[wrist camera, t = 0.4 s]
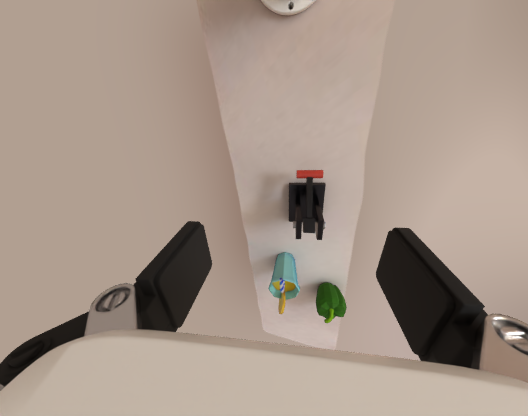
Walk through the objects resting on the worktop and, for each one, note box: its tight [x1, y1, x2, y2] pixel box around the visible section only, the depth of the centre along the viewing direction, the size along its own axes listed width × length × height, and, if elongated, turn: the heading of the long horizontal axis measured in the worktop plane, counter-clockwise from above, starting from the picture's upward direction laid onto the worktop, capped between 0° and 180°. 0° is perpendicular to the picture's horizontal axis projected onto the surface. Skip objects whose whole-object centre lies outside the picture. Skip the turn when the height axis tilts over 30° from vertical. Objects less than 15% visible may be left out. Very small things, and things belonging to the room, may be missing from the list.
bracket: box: [289, 183, 325, 240], centre depth 41 cm, size 10×8×12 cm
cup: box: [269, 252, 300, 314], centre depth 49 cm, size 14×8×15 cm, turn 6°
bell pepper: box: [316, 282, 346, 323], centre depth 55 cm, size 8×8×10 cm
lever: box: [297, 170, 323, 233], centre depth 38 cm, size 12×5×2 cm, turn 1°
